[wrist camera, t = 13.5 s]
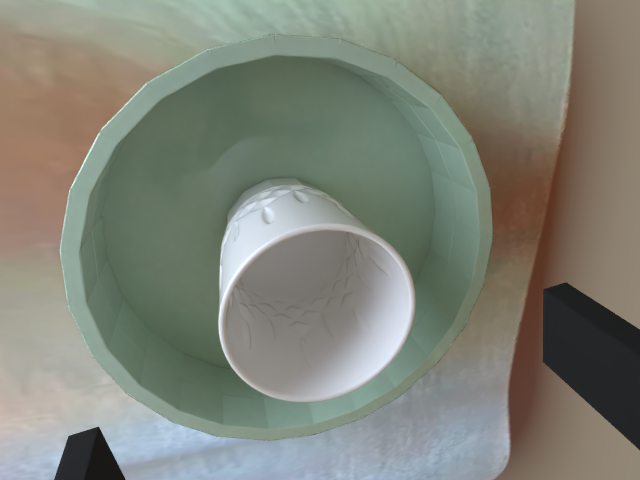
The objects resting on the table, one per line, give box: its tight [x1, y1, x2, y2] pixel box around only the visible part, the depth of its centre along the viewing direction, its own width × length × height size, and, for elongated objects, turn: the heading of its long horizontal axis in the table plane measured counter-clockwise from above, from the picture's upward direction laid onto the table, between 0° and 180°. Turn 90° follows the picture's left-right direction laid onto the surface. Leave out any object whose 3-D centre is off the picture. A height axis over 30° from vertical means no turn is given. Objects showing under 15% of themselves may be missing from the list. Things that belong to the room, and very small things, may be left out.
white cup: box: [219, 177, 416, 402], centre depth 23 cm, size 8×8×10 cm
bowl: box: [60, 34, 493, 441], centre depth 26 cm, size 21×21×6 cm
